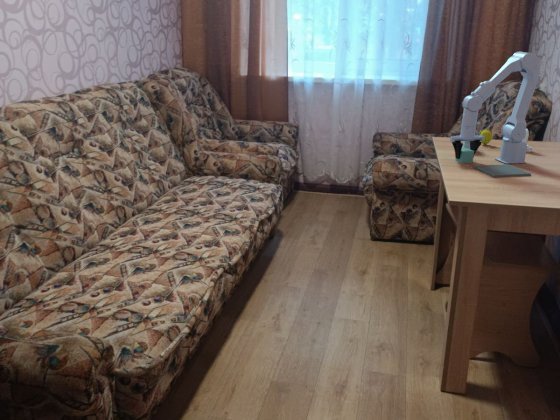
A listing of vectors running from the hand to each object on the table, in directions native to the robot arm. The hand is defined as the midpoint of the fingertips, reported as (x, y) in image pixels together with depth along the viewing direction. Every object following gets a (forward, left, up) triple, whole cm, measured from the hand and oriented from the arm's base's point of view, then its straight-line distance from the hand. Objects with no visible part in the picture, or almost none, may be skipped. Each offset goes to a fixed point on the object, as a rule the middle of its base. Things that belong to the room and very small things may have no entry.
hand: (464, 158), depth 223 cm
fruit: (-27, -27, -2) cm, 38 cm away
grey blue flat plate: (-6, +17, -1) cm, 18 cm away
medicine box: (-13, -19, -2) cm, 23 cm away
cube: (0, 0, -2) cm, 2 cm away
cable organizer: (-37, -15, -2) cm, 40 cm away
